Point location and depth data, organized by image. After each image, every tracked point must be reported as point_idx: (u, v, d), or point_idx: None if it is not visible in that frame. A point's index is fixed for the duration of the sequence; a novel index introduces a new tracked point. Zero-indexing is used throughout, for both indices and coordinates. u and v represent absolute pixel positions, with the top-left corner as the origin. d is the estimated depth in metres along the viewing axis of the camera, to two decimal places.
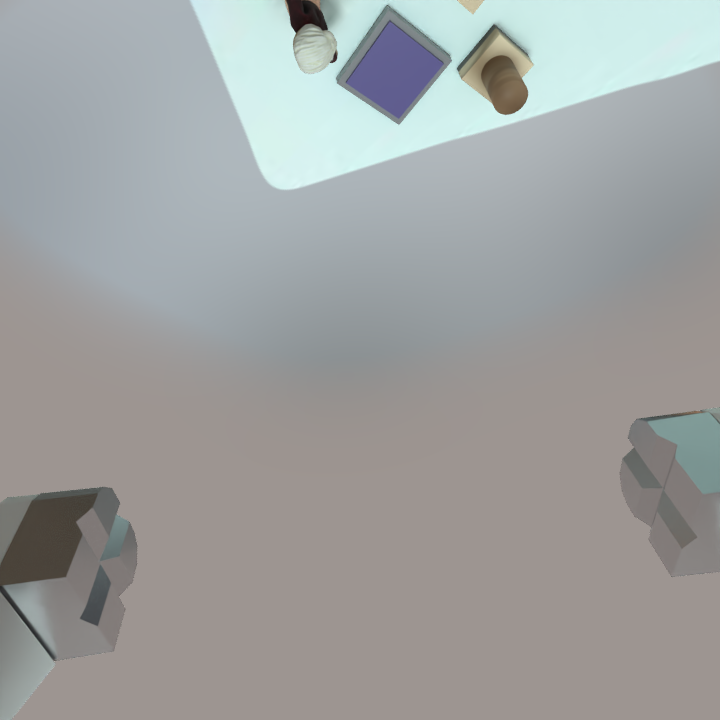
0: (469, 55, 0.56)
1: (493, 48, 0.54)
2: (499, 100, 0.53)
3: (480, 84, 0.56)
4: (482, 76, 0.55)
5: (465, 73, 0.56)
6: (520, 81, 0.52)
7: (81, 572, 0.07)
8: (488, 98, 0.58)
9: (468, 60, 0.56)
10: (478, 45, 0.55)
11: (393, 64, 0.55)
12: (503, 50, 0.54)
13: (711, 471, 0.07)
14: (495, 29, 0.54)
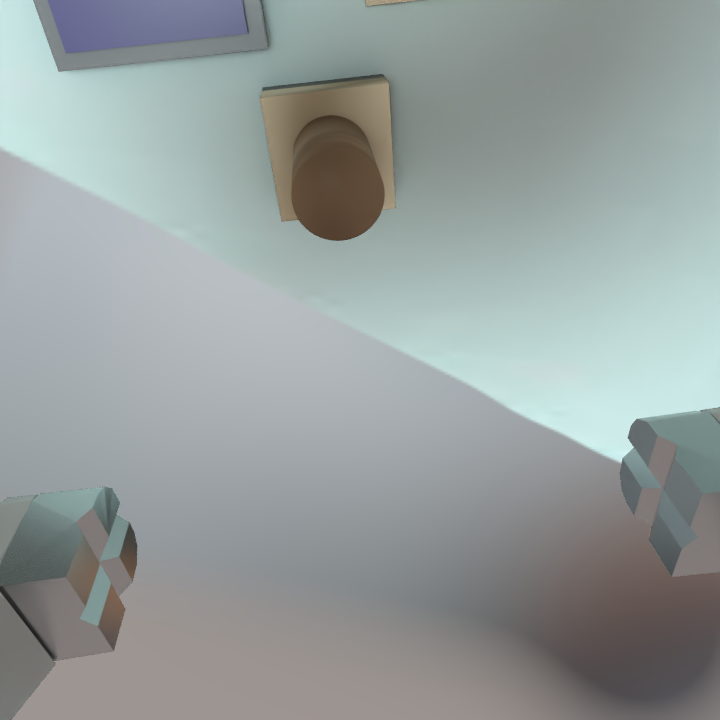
0: (302, 84, 0.23)
1: (358, 98, 0.22)
2: (314, 177, 0.19)
3: (286, 149, 0.23)
4: (303, 131, 0.22)
5: (275, 95, 0.22)
6: (381, 179, 0.20)
7: (81, 572, 0.07)
8: (280, 193, 0.24)
9: (295, 87, 0.23)
10: (331, 81, 0.23)
11: None
12: (372, 123, 0.23)
13: (711, 471, 0.07)
14: (382, 78, 0.23)
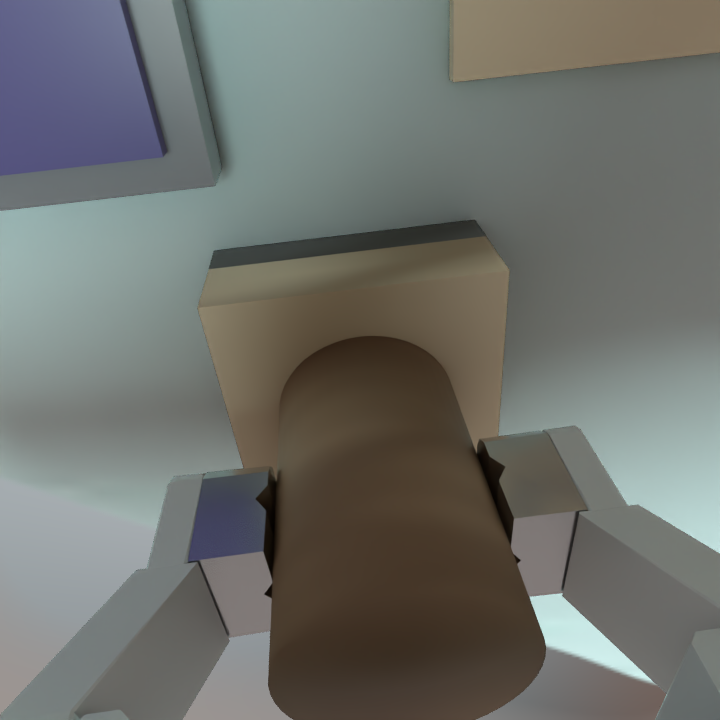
0: (301, 248, 0.11)
1: (434, 302, 0.09)
2: (341, 649, 0.06)
3: (264, 400, 0.10)
4: (304, 381, 0.09)
5: (235, 299, 0.09)
6: None
7: (268, 548, 0.07)
8: None
9: (283, 260, 0.10)
10: (366, 242, 0.10)
11: None
12: (461, 347, 0.10)
13: (529, 494, 0.07)
14: (482, 240, 0.10)
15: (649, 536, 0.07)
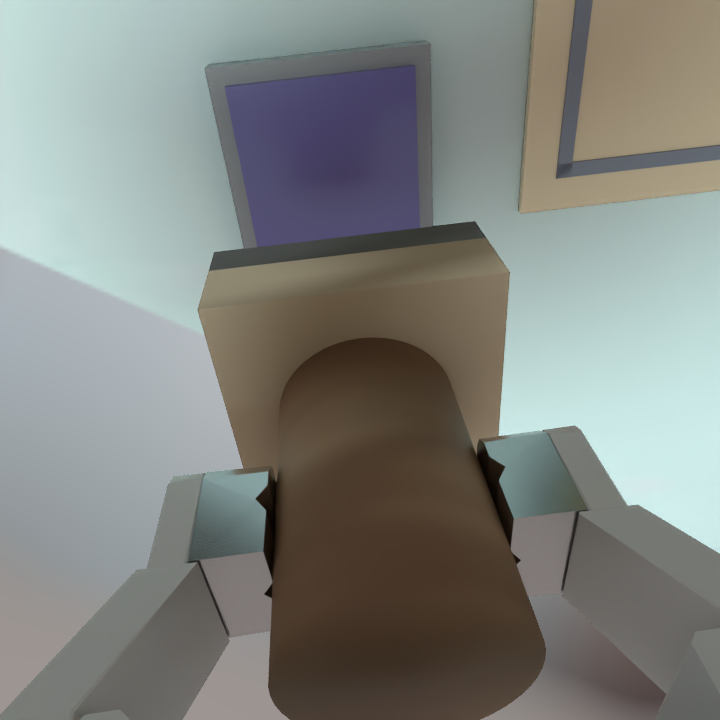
0: (302, 249, 0.11)
1: (434, 304, 0.09)
2: (341, 652, 0.06)
3: (264, 401, 0.10)
4: (304, 382, 0.09)
5: (235, 301, 0.09)
6: None
7: (268, 548, 0.07)
8: None
9: (284, 262, 0.10)
10: (366, 243, 0.11)
11: (345, 153, 0.22)
12: (461, 349, 0.10)
13: (529, 494, 0.07)
14: (482, 242, 0.10)
15: (648, 536, 0.07)
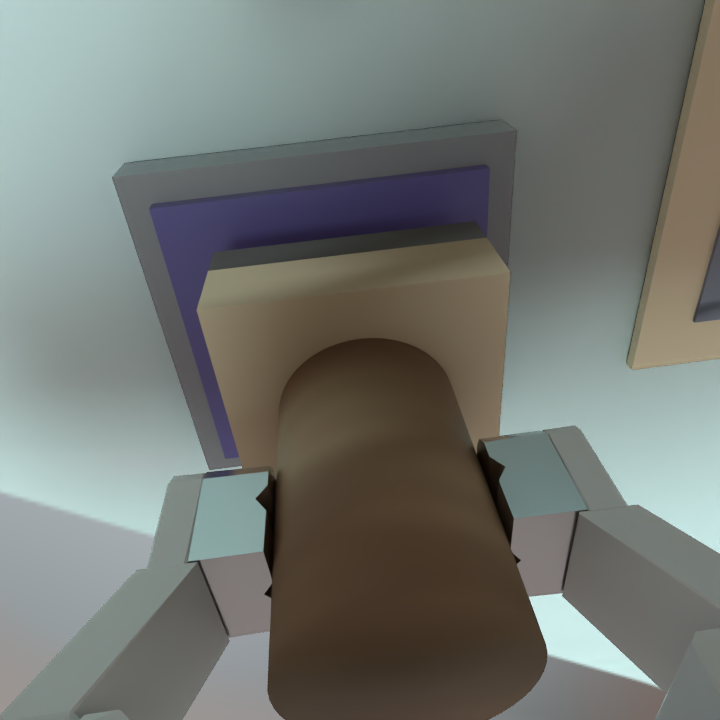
0: (301, 249, 0.11)
1: (435, 304, 0.09)
2: (341, 655, 0.06)
3: (263, 402, 0.10)
4: (303, 383, 0.09)
5: (235, 301, 0.09)
6: (539, 631, 0.07)
7: (268, 547, 0.07)
8: None
9: (284, 261, 0.10)
10: (366, 243, 0.10)
11: None
12: (462, 349, 0.10)
13: (529, 494, 0.07)
14: (483, 242, 0.10)
15: (649, 536, 0.07)
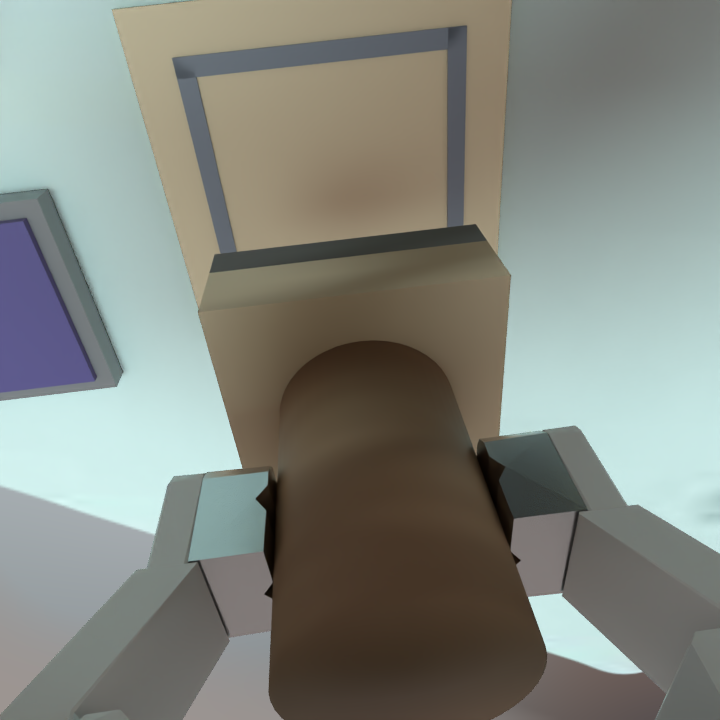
0: (302, 252, 0.11)
1: (435, 307, 0.09)
2: (341, 657, 0.06)
3: (264, 404, 0.10)
4: (304, 385, 0.09)
5: (236, 304, 0.09)
6: None
7: (268, 548, 0.07)
8: None
9: (284, 264, 0.10)
10: (367, 246, 0.10)
11: None
12: (461, 351, 0.10)
13: (530, 494, 0.07)
14: (483, 245, 0.10)
15: (649, 536, 0.07)
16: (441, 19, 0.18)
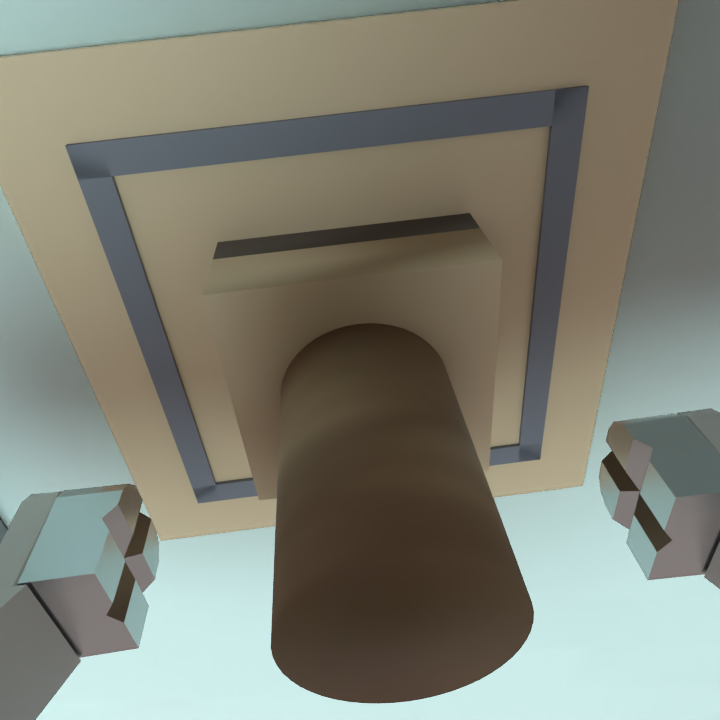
0: (302, 239, 0.11)
1: (430, 291, 0.10)
2: (339, 611, 0.07)
3: (266, 385, 0.11)
4: (304, 366, 0.10)
5: (238, 287, 0.10)
6: (526, 592, 0.07)
7: (108, 568, 0.07)
8: (254, 458, 0.12)
9: (285, 250, 0.11)
10: (365, 234, 0.11)
11: None
12: (456, 335, 0.10)
13: (685, 475, 0.07)
14: (477, 232, 0.11)
15: None
16: (544, 76, 0.10)
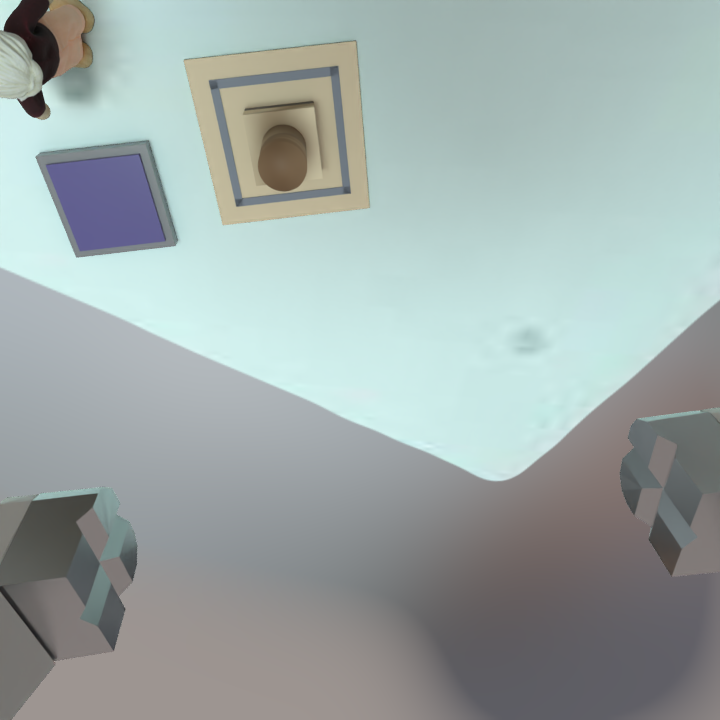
0: (267, 107, 0.41)
1: (297, 115, 0.40)
2: (269, 156, 0.37)
3: (257, 143, 0.41)
4: (266, 133, 0.40)
5: (251, 113, 0.40)
6: (305, 158, 0.37)
7: (81, 572, 0.07)
8: (255, 169, 0.42)
9: (262, 108, 0.41)
10: (284, 105, 0.41)
11: (113, 195, 0.43)
12: (306, 129, 0.41)
13: (711, 471, 0.07)
14: (312, 103, 0.41)
15: None
16: (326, 63, 0.40)
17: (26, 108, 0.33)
